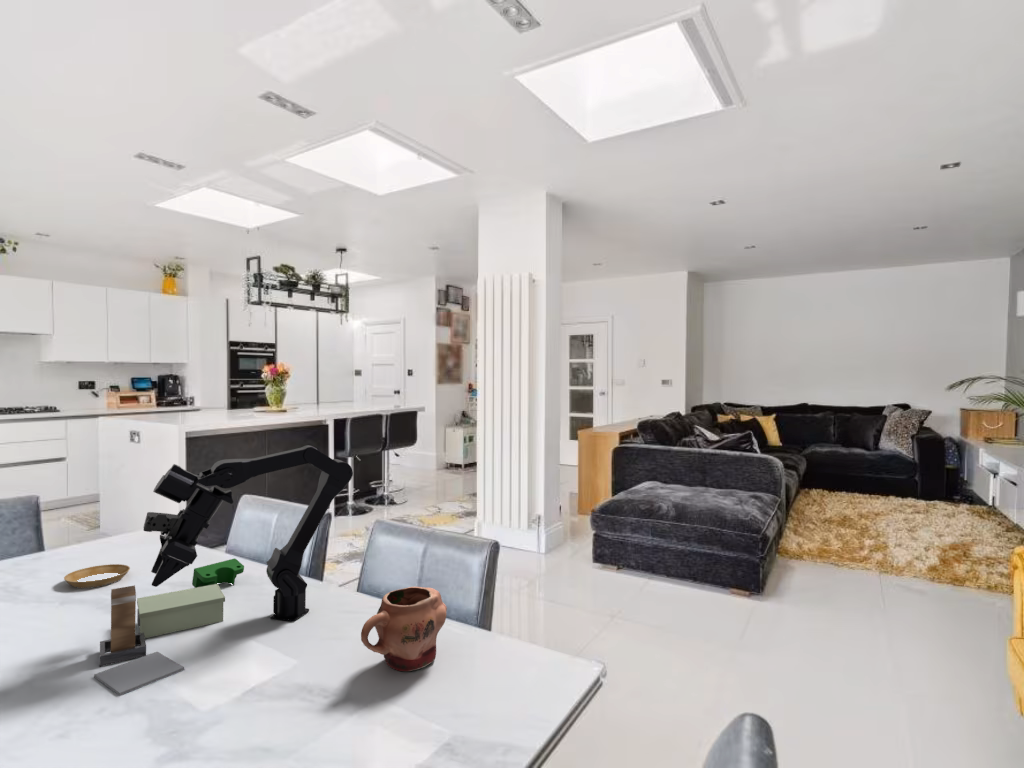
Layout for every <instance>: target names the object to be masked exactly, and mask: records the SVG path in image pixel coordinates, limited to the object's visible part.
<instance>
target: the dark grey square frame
mask: <svg viewBox="0 0 1024 768" xmlns="http://www.w3.org/2000/svg"><path fill="white" fill-rule="evenodd" d="M106 652H107V653H106ZM146 655H147V642H146V638H145V635H144V632H143V633H140V632H139V633H135V647H133V648H128V649H124V650H119V651H115V652H111V638H110V639H107V640H101V641H99V667H104V666H110V665H113V664H117V663H118V664H119V663H122V662H126V661H132V660H135V659H138V658H141V657H143V656H146Z"/></svg>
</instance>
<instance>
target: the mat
mask: <svg viewBox="0 0 1024 768" xmlns="http://www.w3.org/2000/svg"><path fill="white" fill-rule="evenodd" d="M182 671H185V666H183V665H181V664H180V663H178V662H176V661H174V660H173V659H171V658H170V657H168V656H166V655H164V654H163V653H161V652H159V651H155V652H152V653H150V654H146V656H143V657H139V658H135V659H131V660H129V661H127V662H125V663H121V664H119V665H117V666H114V667H110V668H108V669H105V670H103V671H100V672H97V673H94V674H93V678H95V679H96V680H97V681H99V682H100V683H102V684H103V685H104V686H106V688H107V687H108V689H110V690H111V691H113V692H114V693H116V694H117V695H119V697H120V696H123V695H126V694H127V693H130V692H132V691H135V690H138V689H139V688H142V687H145V686H148V685H150V684H152V683H153V684H154V683H155V682H157V681H160V680H163V679H165V678H168V677H170V676H173V675H175V674H177V673H179V672H182Z"/></svg>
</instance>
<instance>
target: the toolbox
mask: <svg viewBox="0 0 1024 768" xmlns="http://www.w3.org/2000/svg"><path fill="white" fill-rule="evenodd" d="M219 585H220V584H214V585H208V586H203V587H197V588H195V587H194V588H193V587H192V588H188V589H181V590H176V591H171V592H165V593H160V594H155V595H149V596H143V597H142V596H141V597H136V602H137V608H136V610H137V616H136V618H137V619H136V623H137V627H138V628H139V633H143V632H144V635H145V639H148V638H152V637H156V636H162V635H165V634H170V633H175V632H176V633H177V632H181V631H185V630H189V629H194V628H199V627H202V626H207V625H212V624H217V623H221V622H224V603H225V602H226V597H225V594H224V593H223V591H222V589H221V587H220V586H219Z"/></svg>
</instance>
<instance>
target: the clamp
mask: <svg viewBox="0 0 1024 768" xmlns="http://www.w3.org/2000/svg"><path fill="white" fill-rule="evenodd" d="M244 570H245V565H244V564H243V563H241V562H240V561H239V560H238V559H237V558H232V559H231V558H230V559H226V560H224V561H219V562H216V563H211V564H207V565H203V566H199V567H194V568H193V573H192V581H191V585H192V586H193V587H194V588H197V587H203V586H208V585H214V584H217V583H222V584H224V583H225V584H229V583H232V584H234V585H235V580H236V578H237V576H238V575H241V574H243V572H245V571H244Z"/></svg>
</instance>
